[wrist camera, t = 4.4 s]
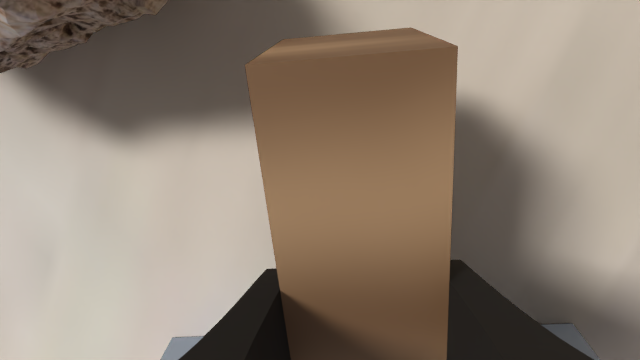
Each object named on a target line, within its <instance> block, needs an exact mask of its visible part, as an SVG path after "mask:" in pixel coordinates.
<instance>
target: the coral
mask: <svg viewBox="0 0 640 360" xmlns="http://www.w3.org/2000/svg"><path fill="white" fill-rule="evenodd" d="M167 1H168V0H0V73H2V72H5V71H7V70H10V69H13V68H16V67H19V68H24V69H26V68H29V67H31V66H34V65H36V64H38V63H40V61H41V60H42V59H43V58H44V57H45V56H46V55H47V54H48V53H49V52H52V51H57V50H63V49H68V48H70V47H73V46H75V45H78V44H80V43H86V42H87V41H88V39H89V38H90V36H91V35H92V34H93V33H95V32H97V31H99V30H101V29H102V28H103V27H105V26H109V25H111V26H115V25H117V24H122V23H125V22H128V21H132V20H135V19H138V18H140V17H141V16H142V15H143V14H152V15H156V14H157V13H158V12H159V11H160V10H161V8H162V7H163V6H164V5H165V4H166V3H167Z"/></svg>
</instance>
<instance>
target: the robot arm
mask: <svg viewBox="0 0 640 360" xmlns="http://www.w3.org/2000/svg"><path fill="white" fill-rule="evenodd" d="M178 360H291V357H290V351H289V344H288V338H287V332H286V325H285V319H284V313H283V306H282V300H281V293H280V287H279V281H278V274H277V269H266V270H265V271H264V272H263V274H262V275H261V276H260V277H259V278H258V279H257V280H256V281H255V282H254V284H253V285H252V286H251V287H250V288H249V289H248V290H247V292H246V293H245V294H244V295H243V296H242V297H241V298H240V300H239V301H238V302H237V303H236V304H235V305H234V306H233V307H232V308H231V309H230V310H229V311H228V313H227V314H226V315H225V316H224V317H223V318H222V319H221V320H220V321H219V322H218V323H217V324H216V325H215V326H214V327H213V328H212V329H211V330H210V331H209V332H208V333H207V334H206V335H205V336H204V337H203V338H202V339H201V340H200V341H199V342H198V343H197V344H196V345H194V346H193V347H192V348H191V349H190V350H189V351H188V352H187V353H185V354H184V355H183V356H182V357H181V358H180V359H178ZM447 360H594V359H592V358H591V357H589V356H587V355H586V354H584V353H583V352H581V351H579V350H578V349H576V348H574V347H573V346H571V345H570V344H568V343H567V342H565V341H564V340H562V339H560V338H559V337H558V336H556V335H555V334H553V333H552V332H550V331H549V330H548V329H546V328H545V327H543V326H542V325H540V324H539V323H538V322H536V321H535V320H533V319H532V318H531V317H529V316H528V315H527V314H525V313H524V312H523V311H521V310H520V309H519V308H518V307H516V306H515V305H514V304H512V303H511V302H510V301H509V300H507V299H506V298H505V297H504V296H502V295H501V294H500V293H499V292H498V291H496V290H495V289H494V288H493V287H492V286H490V285H489V284H488V283H487V282H486V281H484V280H483V279H482V278H481V277H480V276H479V275H478V274H476V273H475V272H474V271H473V270H472V269H471V268H469V267H468V266H467V265H466V264H465V263H464V262H462V261H461V260H450V278H449V306H448V334H447Z"/></svg>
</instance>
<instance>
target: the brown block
mask: <svg viewBox="0 0 640 360" xmlns="http://www.w3.org/2000/svg"><path fill="white" fill-rule="evenodd" d="M457 54H458V46H456V45H453V44H451V43H448V42H446V41H443V40H441V39H438V38H436V37H433V36H431V35H428V34H426V33H423V32H421V31H418V30H416V29H413V28H402V29H391V30H380V31H369V32H358V33H347V34H336V35H326V36H315V37H304V38H293V39H283V40H282V41H280V42H279V43H277V44H276V45H274V46H273V47H271V48H270V49H268V50H267V51H265V52H264V53H262V54H261V55H259V56H258V57H256V58H255V59H253V60H252V61H250V62H249V63H247V64H246V65H245V70H246V76H247V82H248V89H249V95H250V102H251V108H252V114H253V121H254V127H255V134H256V140H257V146H258V153H259V159H260V166H261V172H262V178H263V185H264V191H265V197H266V204H267V210H268V217H269V223H270V229H271V236H272V242H273V249H274V255H275V261H276V268H277V274H278V281H279V287H280V293H281V300H282V306H283V313H284V319H285V325H286V332H287V338H288V344H289V351H290V357H291V360H447V334H448V306H449V278H450V250H451V222H452V194H453V166H454V138H455V110H456V82H457Z"/></svg>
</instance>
